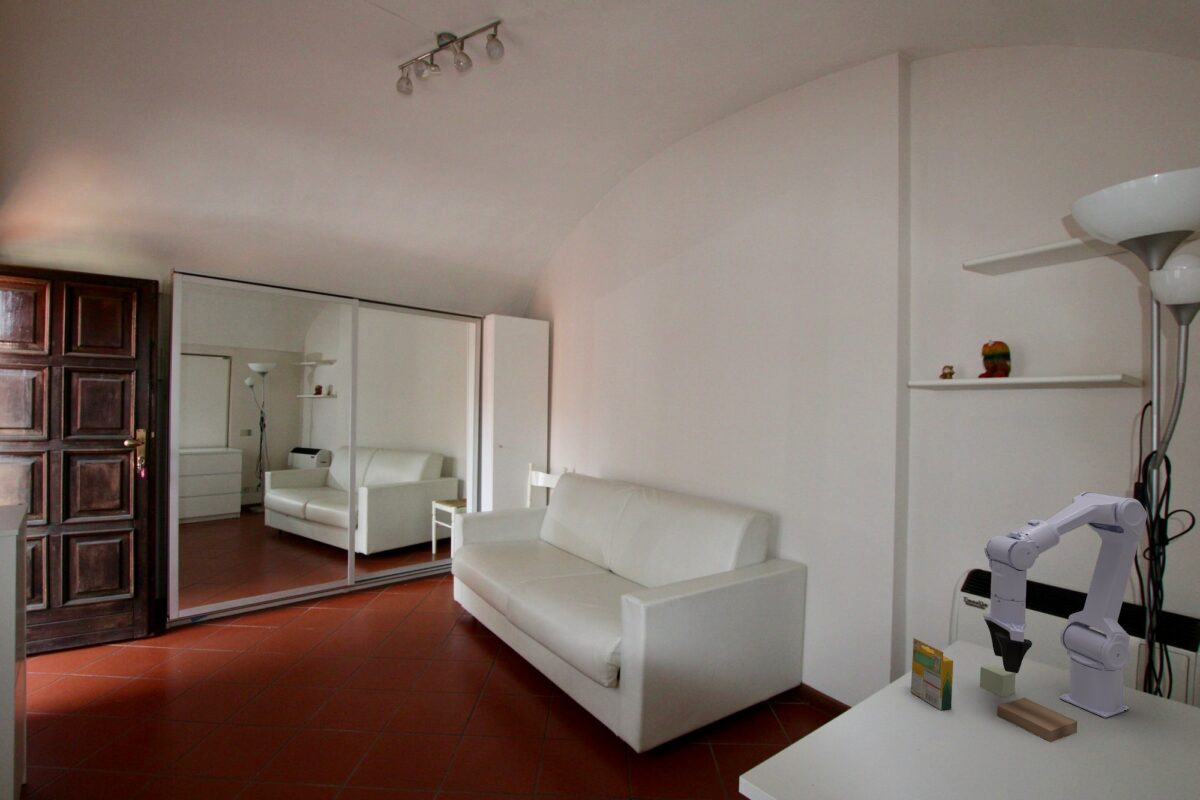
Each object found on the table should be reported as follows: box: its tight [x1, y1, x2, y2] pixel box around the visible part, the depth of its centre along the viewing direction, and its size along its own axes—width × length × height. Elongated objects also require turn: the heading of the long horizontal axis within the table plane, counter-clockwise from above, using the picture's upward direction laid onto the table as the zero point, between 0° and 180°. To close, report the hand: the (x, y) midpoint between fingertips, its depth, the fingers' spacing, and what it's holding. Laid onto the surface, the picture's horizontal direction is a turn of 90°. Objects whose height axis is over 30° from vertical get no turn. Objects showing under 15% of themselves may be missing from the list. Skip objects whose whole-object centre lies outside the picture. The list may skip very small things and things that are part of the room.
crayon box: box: [910, 637, 954, 711], centre depth 113 cm, size 7×3×12 cm, turn 17°
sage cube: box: [979, 663, 1016, 698], centre depth 119 cm, size 4×4×4 cm
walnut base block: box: [996, 697, 1078, 743], centre depth 106 cm, size 9×9×2 cm
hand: (1005, 663), depth 111 cm, fingers open, 7 cm apart
